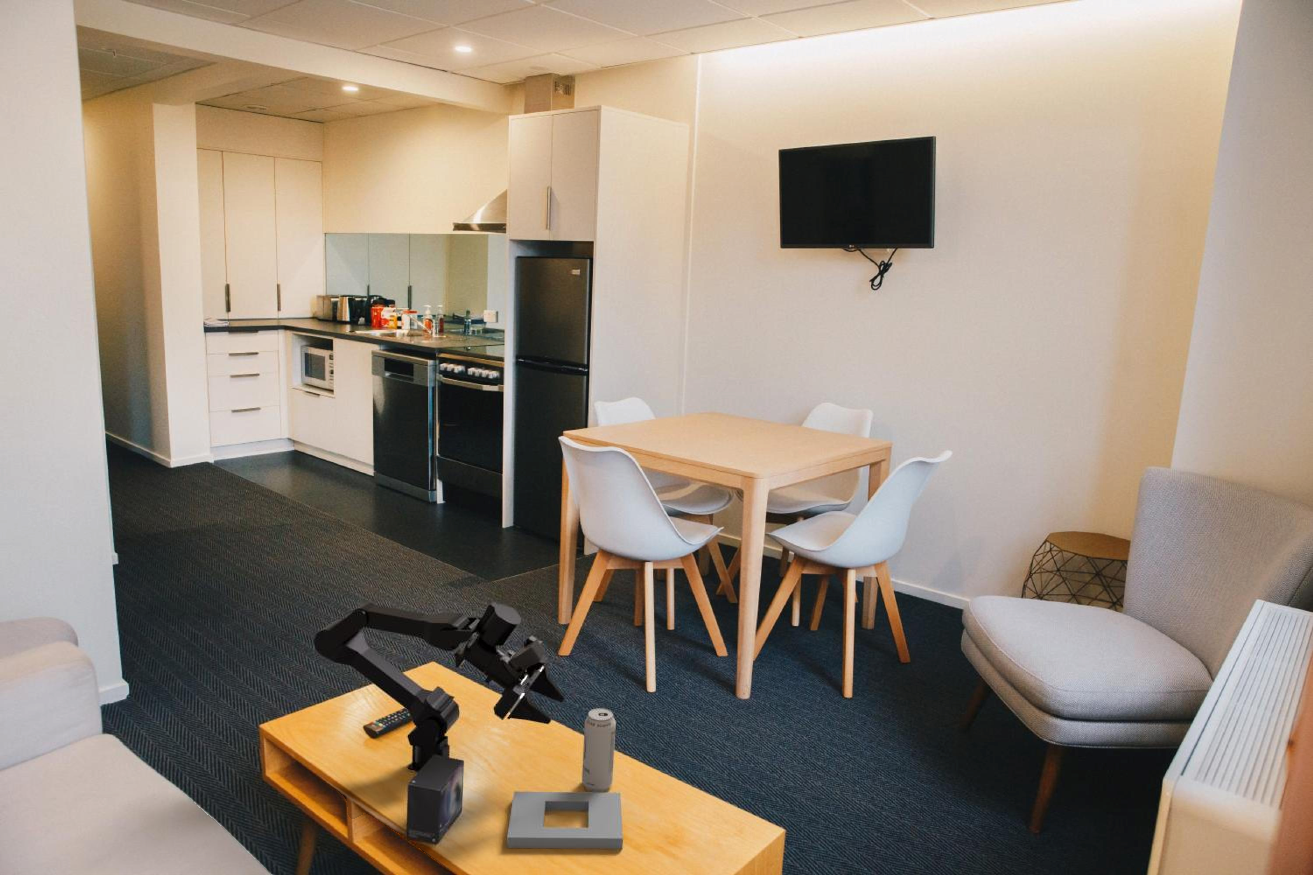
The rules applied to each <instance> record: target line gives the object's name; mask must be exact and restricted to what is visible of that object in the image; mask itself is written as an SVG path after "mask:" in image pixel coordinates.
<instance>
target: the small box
mask: <svg viewBox="0 0 1313 875" xmlns="http://www.w3.org/2000/svg"><path fill="white" fill-rule="evenodd" d="M464 767H465V760H463V759H459V758H455V757H453V758H452V757H450V756H449V757H444V756H439V755H433V756H432V757H431V759H430V760H429V761H428V762H427V763H426V764H425V765H424V766H423V767H422V768H421V770H420V771H419V772H416V774H415V775H414V776H413V777H412V778H411V779H410V781H408V782H407V793H406V795H407V797H406V825H405V826H406V827H405V839H408V840H409V839H410V840H414V841H419V842H424V843H429V844H434V845H438V844H439V843H440V842H441V840H442V839H443V837H444V836H445V834H447V832H448V830H450V828H451V827H452V825H453V824H454V823H455V822H456V820H457V819H458V818H459V816H460V815H461V814H462V813H463V794H464V773H465V768H464Z"/></svg>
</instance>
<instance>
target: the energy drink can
mask: <svg viewBox="0 0 1313 875" xmlns="http://www.w3.org/2000/svg"><path fill="white" fill-rule="evenodd" d="M616 724H617V721H616V720H615V718H614V713H613V712H612V711H611V710H610V709H607V708H604V707H603V708H602V707H600V708H598V707H597V708H593V709H591V710H589V712H588V714H587V717H586V718H585V720H584V729H583V731H584V732H583V748H582V749H583V750H582V751H583V752H582V755H583V756H582V767H581V768H582V769H581V770H582V771H581V783H582V785H583V786H584V788H585V789H586V790H587V791H589V792H592V793H604V792H606V791H607V790H608V789H609V788H610V786H611V785H612V784H613V778H614V777H613V776H614V763H615V761H614V758H615V743H616V742H615V741H616V728H617V727H616Z"/></svg>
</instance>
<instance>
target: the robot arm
mask: <svg viewBox="0 0 1313 875" xmlns="http://www.w3.org/2000/svg"><path fill="white" fill-rule="evenodd" d="M521 622H522V618H521V615H520V614H519V613H518V612H517V610H516V609H514V608H513V607H511V606H508V605H506V604H500V603H497V602H496V601H492V602H491V603H489V604H488V606H487V607H486V609H485V612H484V614H482V616H468V615H467V614H464V613H462V612H448V611H447V612H440V613H431V614H429V613H422V612H417V611H412V610H411V611H410V610H405V609H401V608H397V607H390V606H386V605H385V606H384V605H381V604H380V605H379V604H376V603H374V602H370V601H369V602H364V603H362V604H361V605H359V606H358V607H356V608H355V609H354V610H352V612H351V613H350V614H349V615H348V616H346V617H345V618H339V619H336V620H334V621H333V622H331V623H330V624H328V625H327V626H325V627H324V628H323V629H321V630H320V631H319V630H318V632H317V633H316V634H315V637H314V639H313V640H314V641H313V643H314V644H313V645H314V650H315V652H316V653H317V654H318V655H320V656H321V657H323V658H324V659H326V660H328V661H331V662H332V663H334V664H338V665H344V666H348V667H351V668H352V669H354V671H356V672H358V673H359V674H360V675H361V676H363V677H364V678H365V679H366V680H368V681H369V682H370V683H371V684H373V685H375V687H377V688H378V689H379V690H381V691H382V692H384V693H385V694H386V695H387V696H389V697H390V698H392V699H393V700H394V701H395V702H397V703H398V704H399V705H400V706H402V707H403V708H405V709H406V711H407V712H408V714H409V716H410V718H411V720H412V723H413V725H414V726H415V727H414V728H413V729H412V730H411V731H410V732H409V733H408V734H407V736H406V737H407V740H408V742H409V745H410V746H411V747H412V750H411V751H412V752H411V753H412V755H411V762H410V763H409V764H408V765H407V768H406V769H407V770H409V771H411V772H416V773H418V772H419V771H420V770H421V768H422V767H423V766H424V765H425V764H426V763H427V762H428V761H429V760H430V759H431V757H432V756H433V755H439V756H444V757H449V758H450V747H451V746H450V744H449V736H448V735H446V734H447V733H448V731H450V730H451V728H452V727H453V726H454V725H455V723H456V722H457V721H458V720H459V718H460V714H461V712H460V706H459V704H458V703H457V701H456V700H455V698H456V697H455V696H453V695H451V694H449V693H447V692H446V691H445V690H444V688H442V687H440V686H436V687H435V688H434V689H433V690H430V689H426V688H423V687H422V686H421V685H420V684H418V683H416V681H414V680H413V679H412V678H410V677H409V676H407V675H406V674H405V673H404V672H402V671H401V670H400V669H399V668H397V667H396V666H394V665H393V664H392V663H390V661H388V660H387V659H385V658H384V657H383V656H381V655H380V654H378V653H377V652H376V651H375V650H373V649H372V648H371V647H370V646H369V645H368V643H367V640H366V639H365V636H364V634H363V632H362V631H361V630H363V629H365V628H367V629H372V630H377V631H383V632H387V633H392V634H397V635H402V636H407V637H413V638H417V639H420V640H423V641H424V642H425V643H426V644H427V645H428V646H430V647H433V648H434V649H438V650H440V651H443V652H453V651H455V650H456V649H457V648H459V647H460V646H461V645H462V644H463V643H465V645H464V646H463V647H462V649H457V651H456V652H454V653H453V656H454V657H453V658H454V659H455V662H454V664H455V668H456V669H458V668H460V667H461V666H462V664H464V662H466V663H467V664H469V665H470V666H471V667H473V669H475V670H477V671H478V672H479V673H481V674H482V675H483V676H485V677H486V678H485V680H484V683H486V684H487V685H490V683H492V682H493V683H494V684H495V685H496V686H498V687H499V688H501V690H503V691H502V693H501V695H502V696H500V698H499V699H498V701H497V702H496V704H495V705H494V706H493V713H494V715H495V716H496V717H497V718H499V719H500V720H501V721H504V719H505V718H506V717H507V718H506V719H507V720H510V719H515V720H522V721H529V722H534V723H539V724H546V725H549V724H550V723H551V721H552V718H551V717H550V716H549V714H547V713H546V712H545V711H544V710H543V709H542V708H540V706H538V705H537V703H536V702H534V701H533V700H532V698H531V697H532V696H531V694H530V691H532V692H534V693H537V694H539V695H542V696H544V697H546V698H548V699H550V700H554V701H556V702H558V703H559V702H560V703H563V702H564V701H565V699H566V698H565V696H564V694H563V693H562V691H561V690H560V688H559V687H558V685H556V683H555V682H554V680H553V679H552V677H551V675H550V670H549V665H550V663H549V662H547V661H548V660H549V657H548V656H547V655H546V654H547V652H546V650H545V649H544V648H543V645H544V642H543V641H542V640H539V638H537V637H535V636H533V635H529V636H528V637H527V638H525V639H524V641H523V647H521V649H519V650H518V651H516V652H515V650H514V651H513V650H512V649H508V650H507V651H504V650H503V649H502V648H500V647H501V646H504V645H506V644H507V642H508V641H509V639H510V638H511V636H512V635H513V634H514V632H515V631H516V629H517V628H518V626H519V625H520V624H521ZM476 634H477V636H476V638H472V637H474V636H475V635H476ZM546 662H547V663H546ZM545 663H546V664H545ZM526 686H527V687H528V686H529V688H528V689H527V690H526V689H525V687H526ZM524 692H525V693H524ZM508 714H509V715H508ZM507 715H508V716H507Z"/></svg>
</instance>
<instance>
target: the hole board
mask: <svg viewBox="0 0 1313 875" xmlns="http://www.w3.org/2000/svg"><path fill="white" fill-rule="evenodd" d="M621 798H622V797H621V792H591V791H589V792H588V791H587V792H586V791H585V792H581V791H580V792H579V791H578V792H577V791H575V792H574V791H570V792H569V791H566V792H565V791H515V790H514V792H513V797H512V804H511V809H510V810H511V811H510V817H509V823H508V830H507V838H506V849H577V850H578V849H579V850H580V849H581V850H582V849H588V850H590V849H592V850H593V849H594V850H595V849H596V850H598V849H603V850H605V849H606V850H610V849H612V850H613V849H614V850H623V848H624V847H623V846H624V843H623V842H624V835H623V834H624V833H623V832H624V830H623V829H624V828H623V815H622V814H623V813H622V799H621ZM546 812H587V827H574V826H573V827H564V826H563V827H562V826H561V827H557V826H556V827H553V826H548V827H546V826H544V825H545V815H546Z"/></svg>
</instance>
